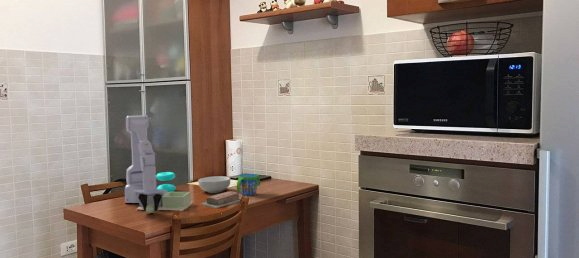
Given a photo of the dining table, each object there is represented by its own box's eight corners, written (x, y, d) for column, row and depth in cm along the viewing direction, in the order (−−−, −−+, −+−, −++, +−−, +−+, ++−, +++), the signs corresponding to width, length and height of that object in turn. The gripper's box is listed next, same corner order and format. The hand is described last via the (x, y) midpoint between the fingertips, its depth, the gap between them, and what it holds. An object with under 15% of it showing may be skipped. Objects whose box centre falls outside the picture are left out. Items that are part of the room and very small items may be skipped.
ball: (144, 214, 219) (143, 205, 219) (148, 212, 224) (147, 202, 223) (153, 215, 219) (153, 205, 218) (157, 212, 223) (157, 202, 223)
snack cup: (253, 190, 265) (253, 172, 264) (266, 193, 257) (266, 174, 256) (230, 195, 254) (230, 176, 253) (243, 198, 246) (243, 178, 245)
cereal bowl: (233, 188, 272) (233, 175, 271) (226, 195, 256) (226, 181, 255) (203, 188, 274) (203, 175, 273) (195, 195, 257) (194, 181, 257)
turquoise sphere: (170, 171, 274) (177, 173, 266) (171, 188, 275) (178, 191, 267) (153, 173, 268) (160, 175, 260) (154, 191, 269) (161, 194, 261)
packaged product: (227, 189, 248) (242, 191, 242) (227, 199, 248) (242, 201, 243) (201, 196, 234) (216, 199, 228) (201, 206, 234) (216, 209, 228)
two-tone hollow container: (136, 210, 227) (135, 197, 227) (148, 203, 241) (147, 191, 240) (182, 211, 225) (182, 198, 224) (192, 203, 238) (191, 191, 238)
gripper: (130, 182, 217) (131, 212, 218) (161, 182, 215) (163, 213, 216) (136, 179, 224) (138, 208, 225) (167, 179, 222) (168, 209, 223)
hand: (150, 210), depth 221 cm, fingers closed on ball, 4 cm apart
